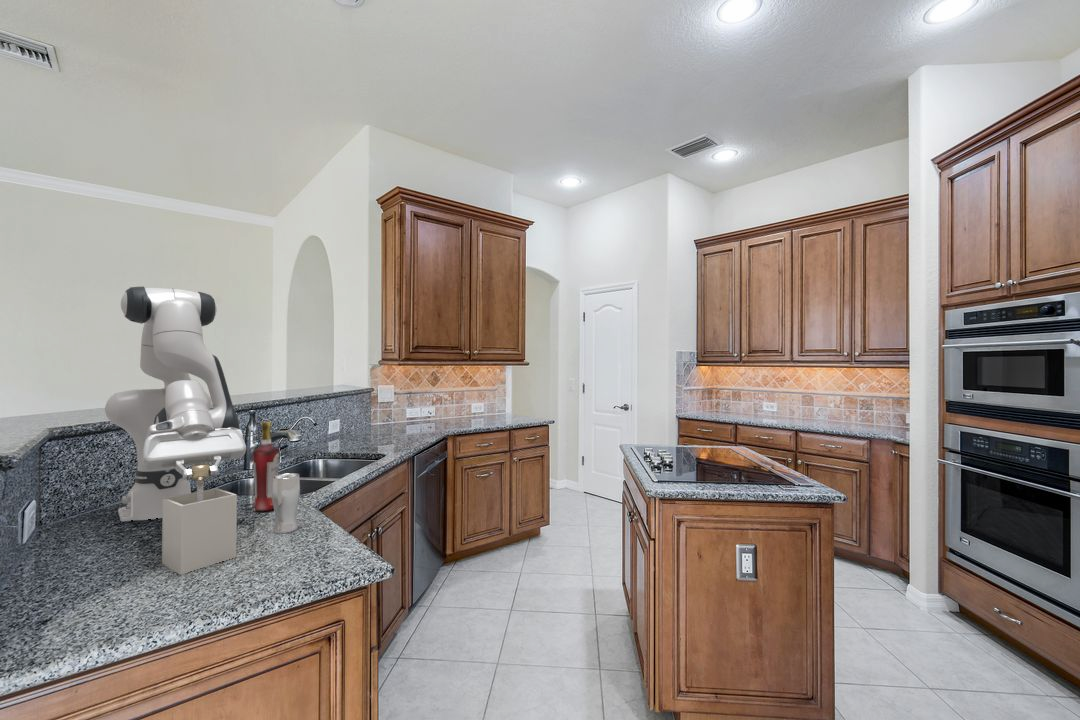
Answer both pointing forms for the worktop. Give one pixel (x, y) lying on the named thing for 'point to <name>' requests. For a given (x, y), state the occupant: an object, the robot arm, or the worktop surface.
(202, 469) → the plunger
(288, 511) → the beer glass
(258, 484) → the liquor
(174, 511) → the beige open box
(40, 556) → the worktop surface
